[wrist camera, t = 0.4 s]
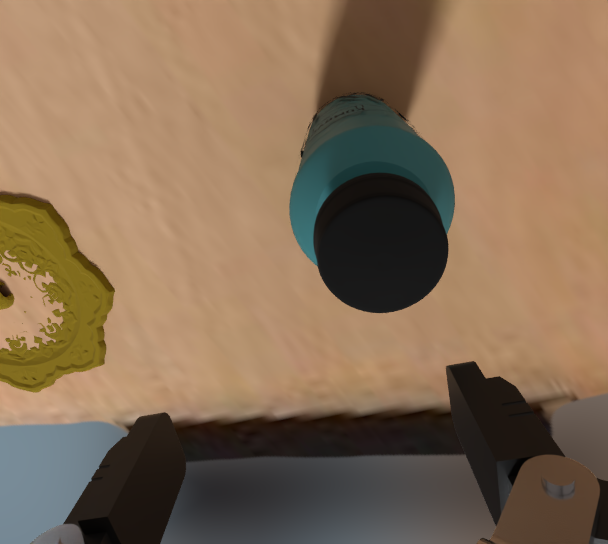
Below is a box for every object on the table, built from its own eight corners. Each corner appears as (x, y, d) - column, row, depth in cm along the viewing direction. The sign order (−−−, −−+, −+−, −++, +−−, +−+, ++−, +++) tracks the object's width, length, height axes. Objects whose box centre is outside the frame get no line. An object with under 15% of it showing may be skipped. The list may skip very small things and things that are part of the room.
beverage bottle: (420, 132, 30) (557, 242, 12) (356, 205, 33) (390, 387, 15) (347, 66, 29) (380, 83, 11) (285, 148, 31) (227, 274, 13)
